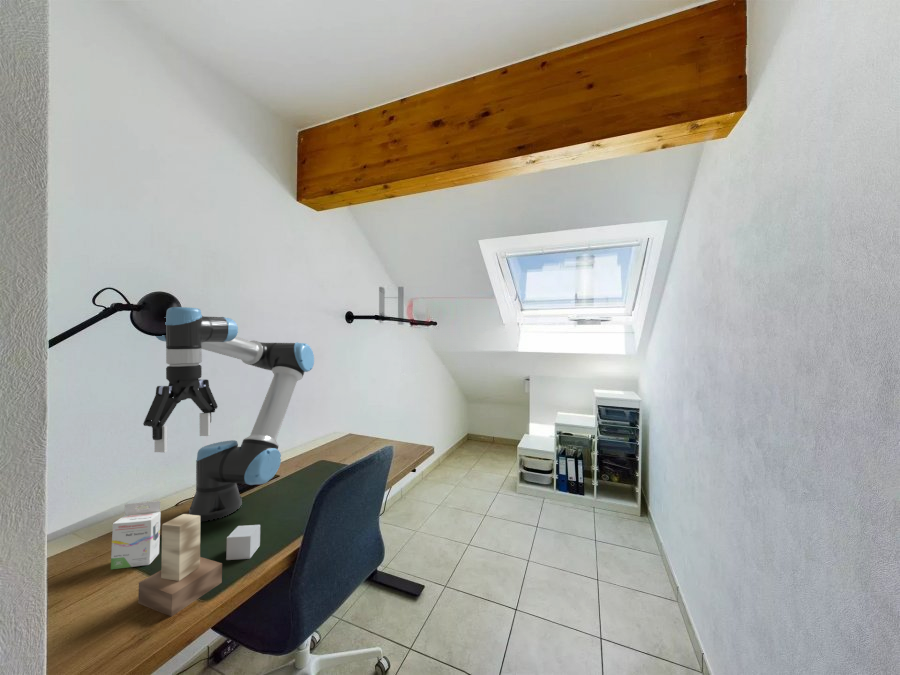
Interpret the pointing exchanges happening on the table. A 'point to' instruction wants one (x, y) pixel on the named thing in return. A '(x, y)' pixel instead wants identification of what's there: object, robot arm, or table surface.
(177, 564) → the oak column
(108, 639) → the table surface
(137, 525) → the ink box
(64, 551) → the table surface
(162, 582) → the walnut base block
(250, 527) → the grey plastic block
